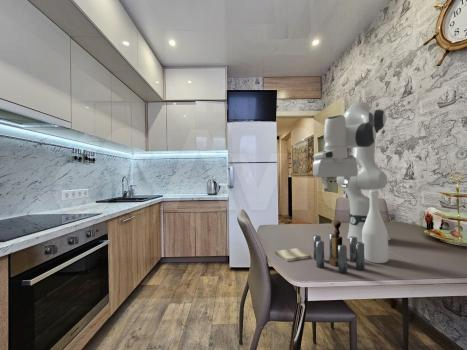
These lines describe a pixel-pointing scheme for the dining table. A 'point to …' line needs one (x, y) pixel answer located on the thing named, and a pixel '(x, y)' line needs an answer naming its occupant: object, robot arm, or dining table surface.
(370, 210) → the wine bottle
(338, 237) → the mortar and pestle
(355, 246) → the capsules
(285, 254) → the birch board
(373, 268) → the dining table surface
